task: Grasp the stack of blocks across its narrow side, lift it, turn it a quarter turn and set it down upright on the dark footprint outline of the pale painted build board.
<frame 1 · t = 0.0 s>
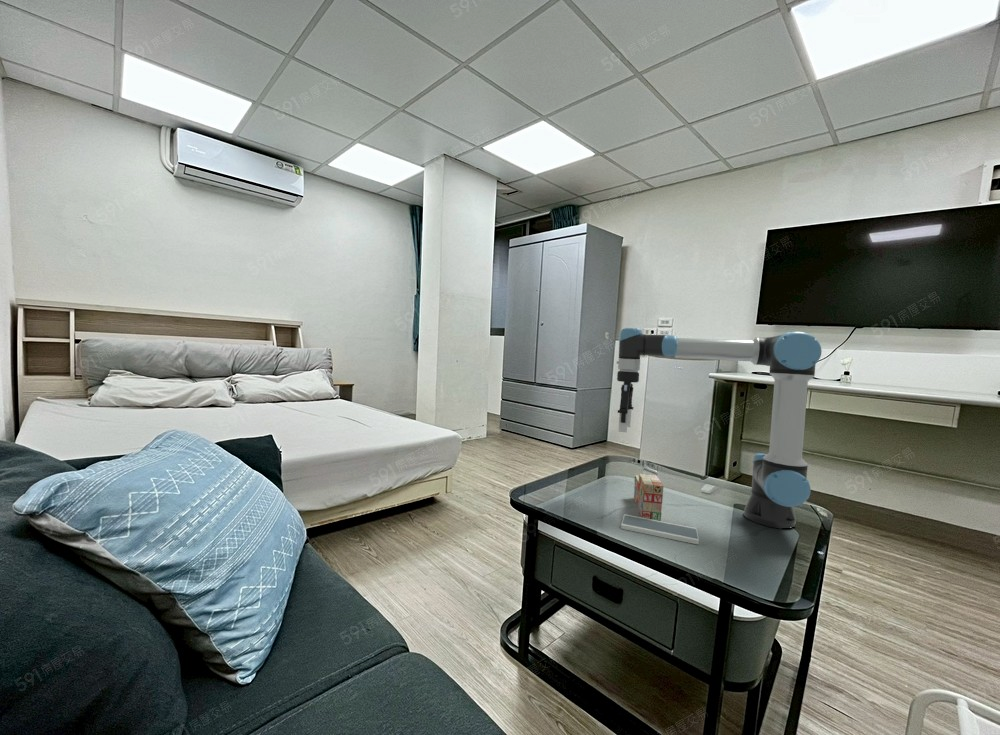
hand: (624, 429, 147), 28 cm above the table, fingers open, 13 cm apart
build board: (658, 530, 127), on the table
stack of blocks: (646, 509, 145), on the table
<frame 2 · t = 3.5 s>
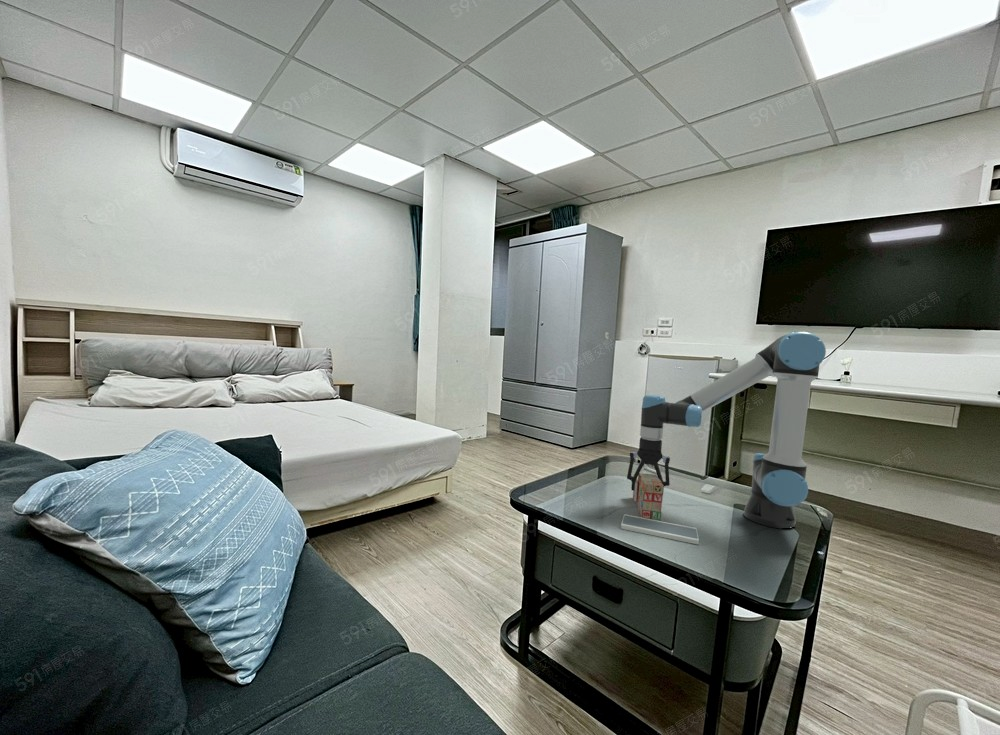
hand: (646, 501, 145), 3 cm above the table, fingers closed on stack of blocks, 7 cm apart
stack of blocks: (645, 508, 146), on the table, touching gripper
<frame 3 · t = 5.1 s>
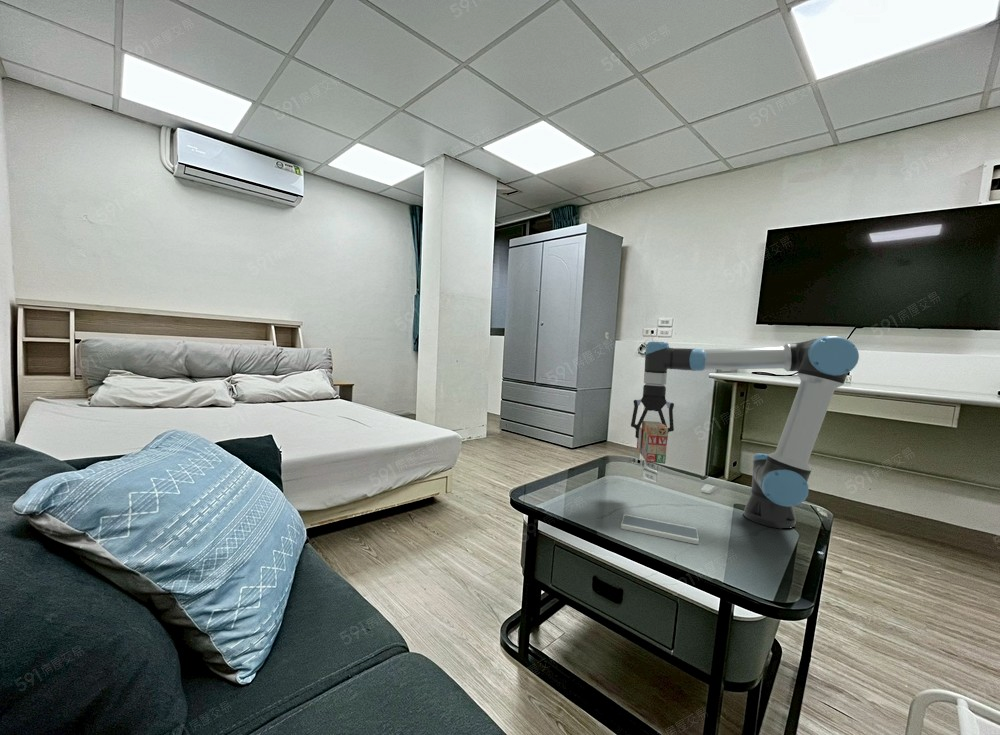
hand: (650, 448, 145), 22 cm above the table, fingers closed on stack of blocks, 7 cm apart
stack of blocks: (649, 456, 145), point 19 cm above the table, touching gripper
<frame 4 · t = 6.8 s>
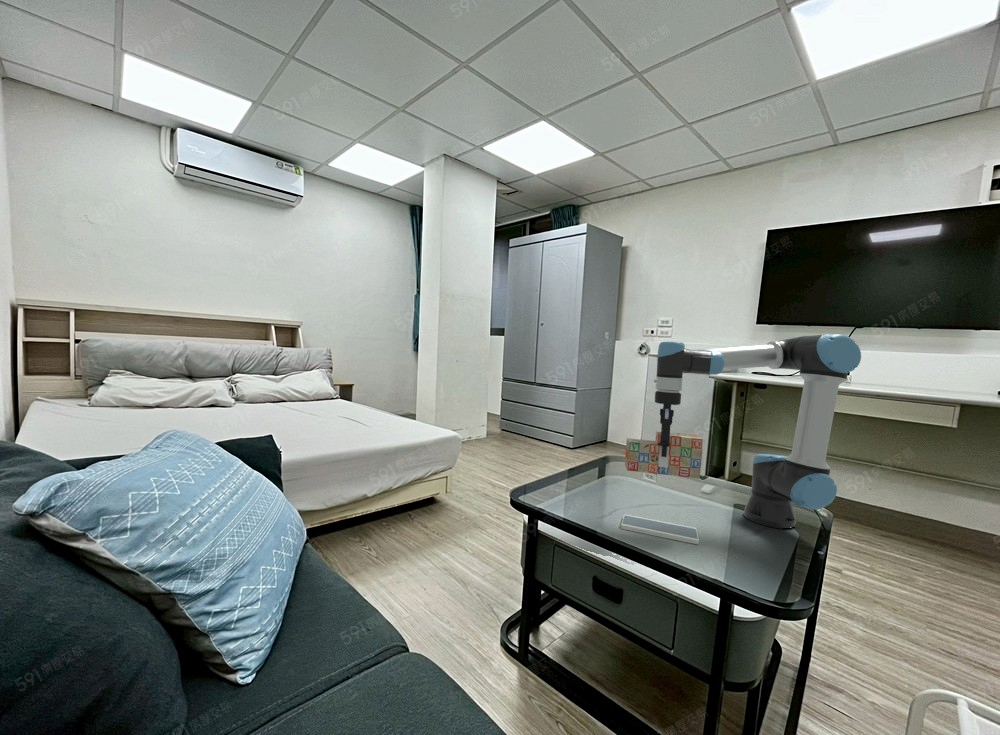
hand: (663, 464, 127), 21 cm above the table, fingers closed on stack of blocks, 7 cm apart
stack of blocks: (660, 472, 127), point 18 cm above the table, touching gripper
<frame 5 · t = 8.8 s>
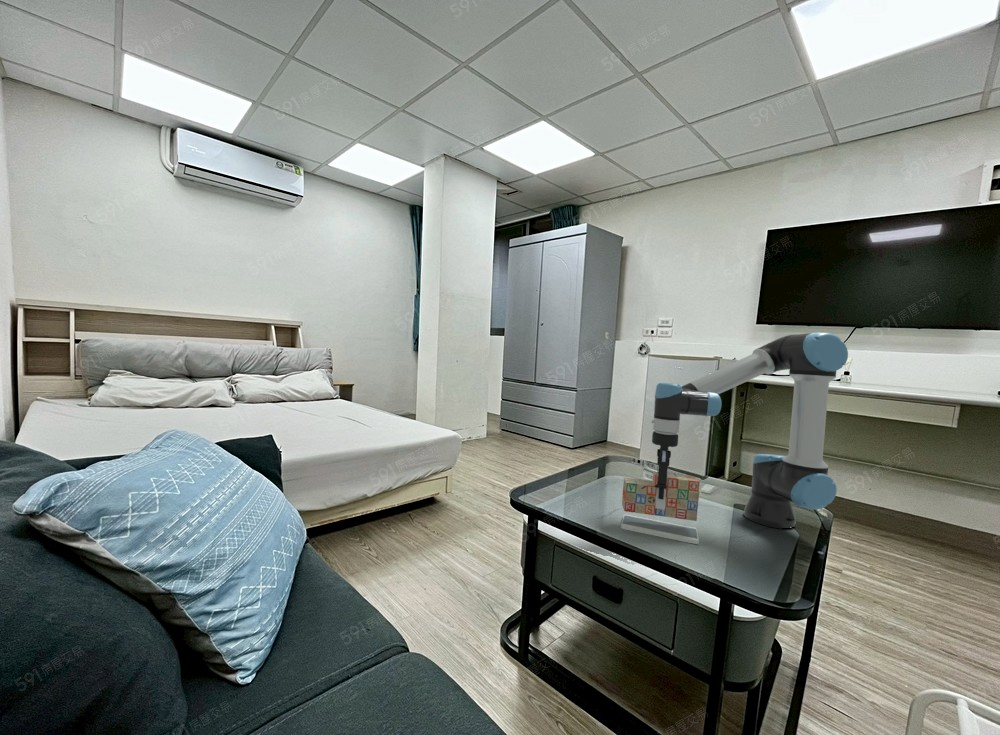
hand: (660, 504, 127), 8 cm above the table, fingers closed on stack of blocks, 7 cm apart
stack of blocks: (657, 513, 127), point 5 cm above the table, touching gripper
when the fingers open (5 cm above the table, at t = 10.3 s): stack of blocks moves 1 cm, resting on build board.
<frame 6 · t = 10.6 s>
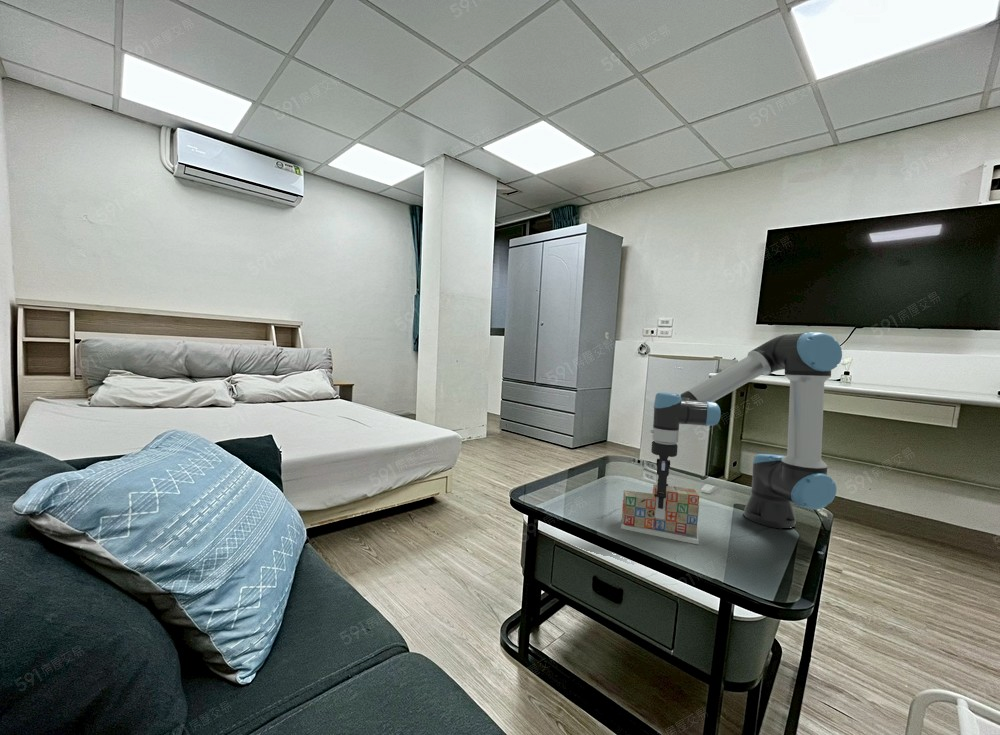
hand: (659, 512, 127), 6 cm above the table, fingers open, 10 cm apart
stack of blocks: (657, 526, 127), point 1 cm above the table, touching build board
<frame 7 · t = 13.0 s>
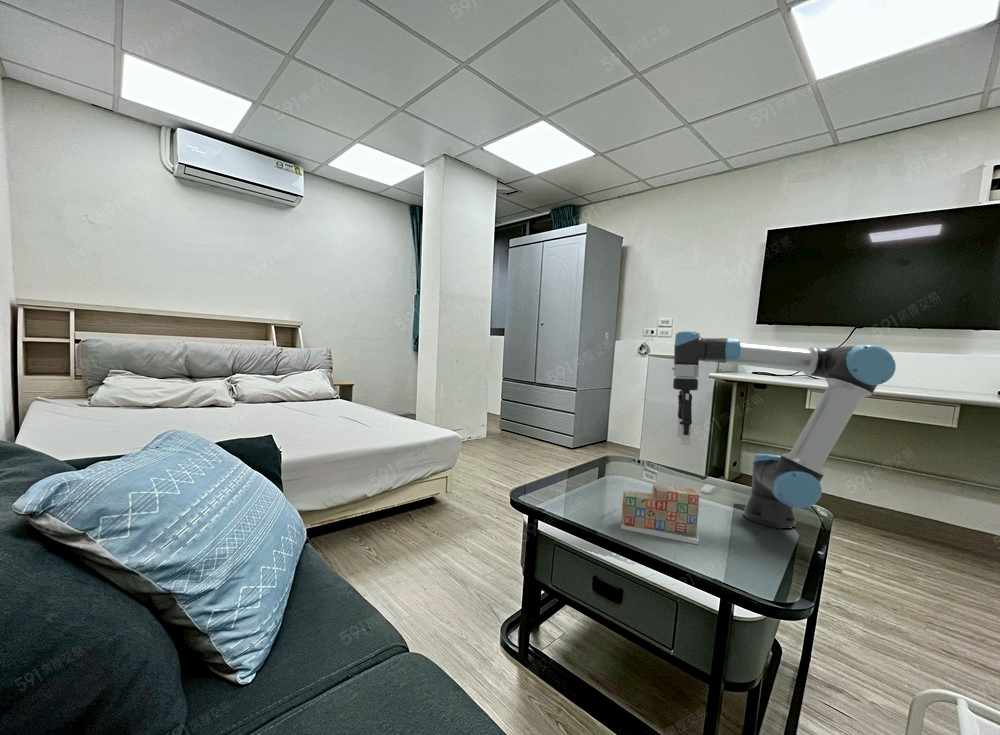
hand: (683, 441, 135), 27 cm above the table, fingers open, 13 cm apart
nothing on the table moved.
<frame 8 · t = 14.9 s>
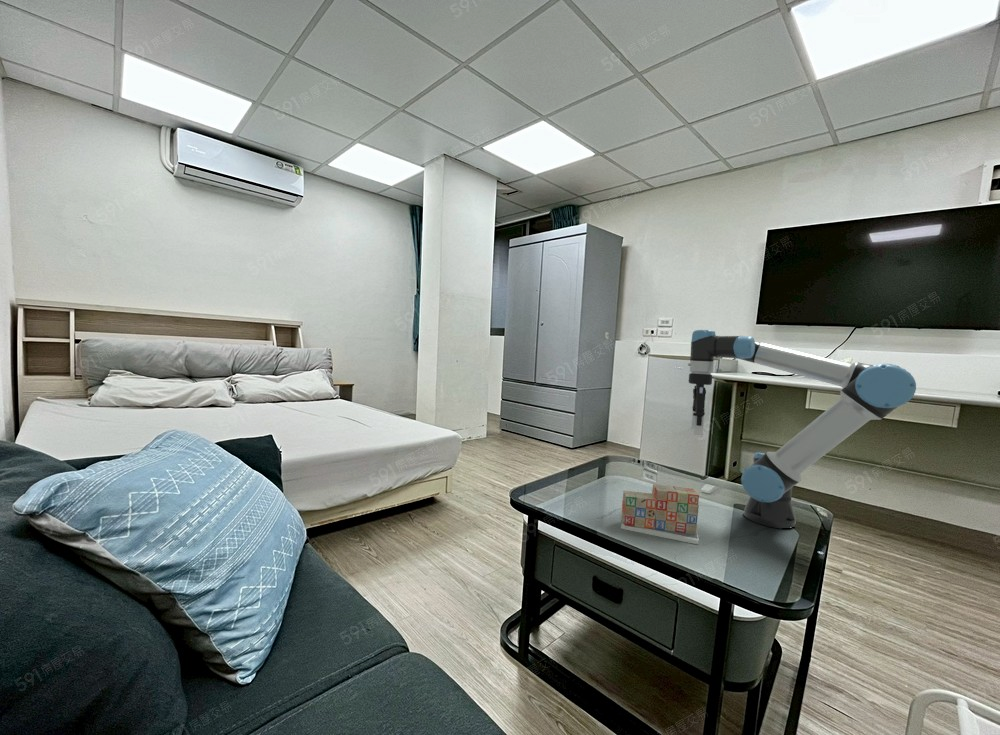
hand: (696, 432, 145), 29 cm above the table, fingers open, 13 cm apart
nothing on the table moved.
at the end: stack of blocks inside the target area on the build board (0.4 cm from its centre), point 1.1 cm above the build board's base; stack of blocks tilted 0°; the gripper is holding nothing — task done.
